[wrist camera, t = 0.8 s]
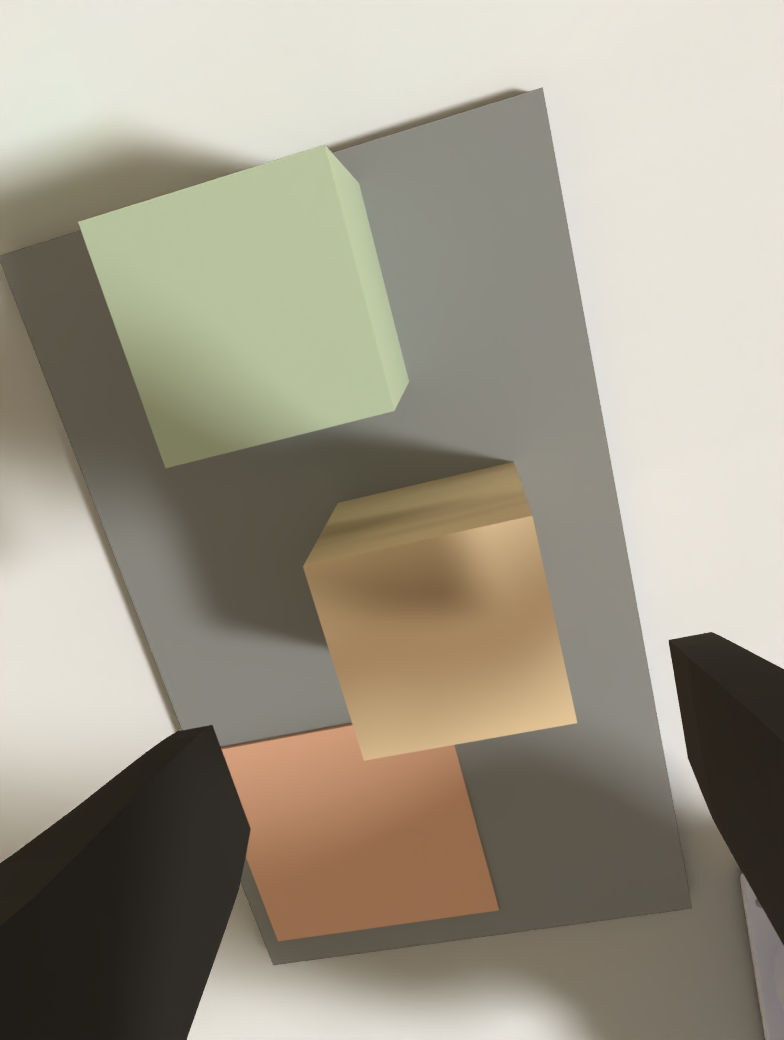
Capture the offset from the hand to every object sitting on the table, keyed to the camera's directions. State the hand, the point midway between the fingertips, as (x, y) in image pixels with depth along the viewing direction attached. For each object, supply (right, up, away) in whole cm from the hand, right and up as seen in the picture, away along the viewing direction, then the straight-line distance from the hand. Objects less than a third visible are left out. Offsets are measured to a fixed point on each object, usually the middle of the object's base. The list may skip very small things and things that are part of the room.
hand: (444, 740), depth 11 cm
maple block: (+1, +2, +8) cm, 8 cm away
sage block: (-3, +8, +6) cm, 11 cm away
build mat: (-1, +1, +9) cm, 9 cm away
